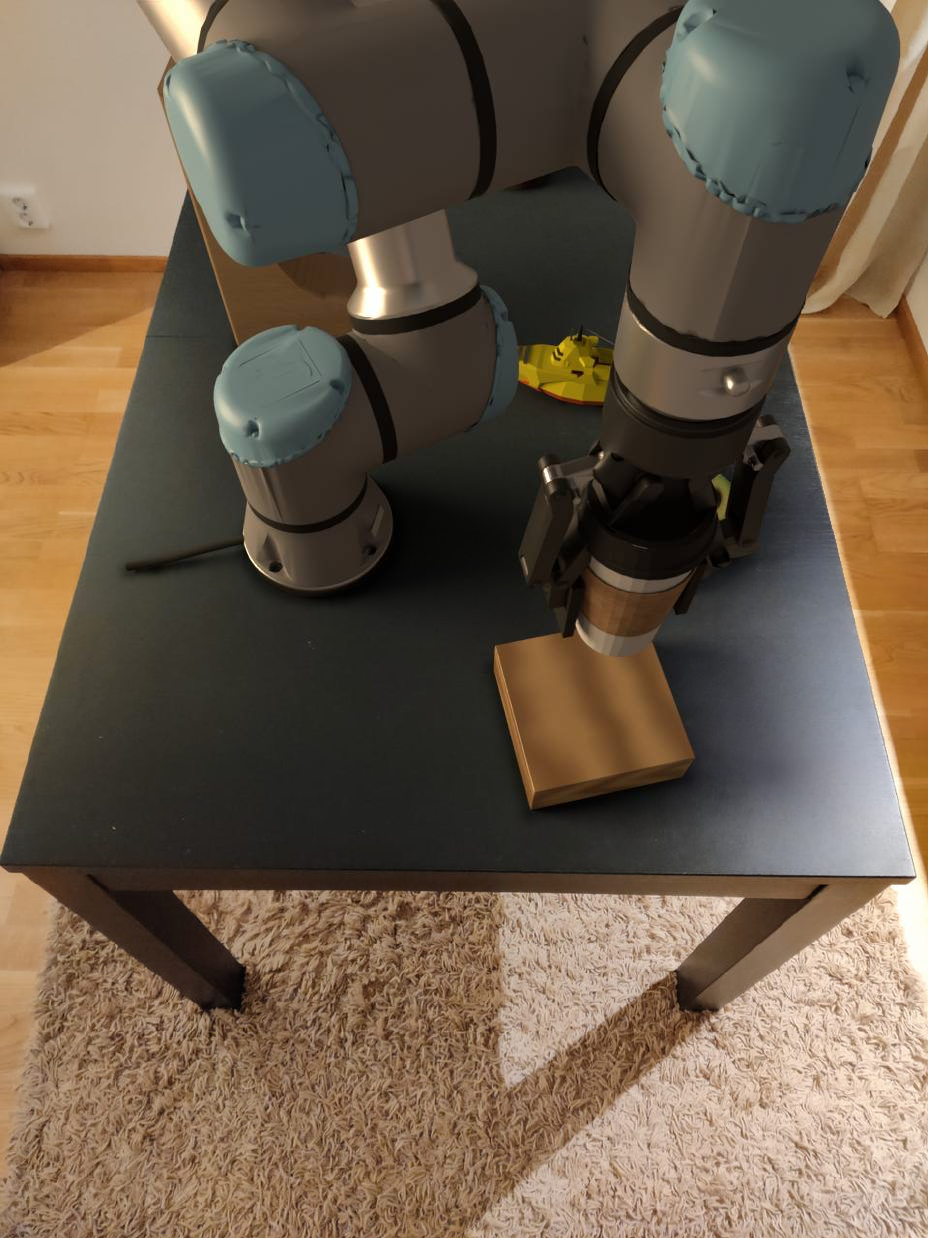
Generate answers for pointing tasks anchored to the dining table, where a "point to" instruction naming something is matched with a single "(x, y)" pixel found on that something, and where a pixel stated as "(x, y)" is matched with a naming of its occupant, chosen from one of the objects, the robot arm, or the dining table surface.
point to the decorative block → (277, 283)
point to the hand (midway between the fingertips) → (619, 609)
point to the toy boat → (568, 368)
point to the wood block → (588, 719)
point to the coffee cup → (637, 570)
